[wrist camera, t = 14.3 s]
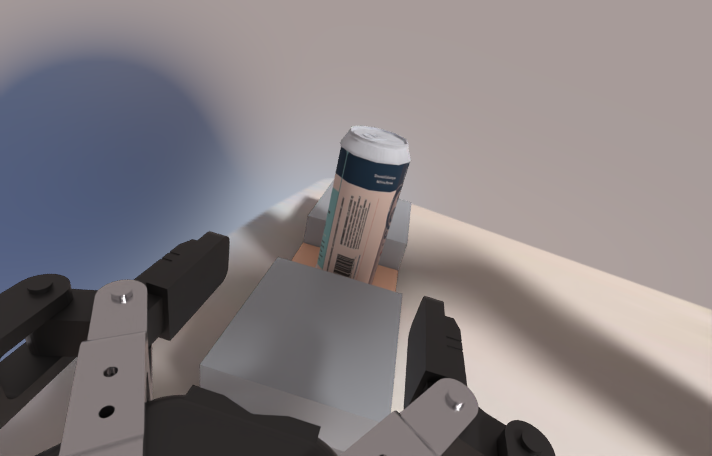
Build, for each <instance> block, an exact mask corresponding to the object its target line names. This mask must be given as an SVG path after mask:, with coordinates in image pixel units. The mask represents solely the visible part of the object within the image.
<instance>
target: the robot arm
mask: <svg viewBox="0 0 712 456" xmlns="http://www.w3.org/2000/svg"><path fill="white" fill-rule="evenodd" d="M228 261H229V237H227V236H224V235H221V234H217V233H214V232H207V233H206V234H205V235H203V237H201V238H200V239H199V240H193V239H192V240H190V241H187V242H184V243H182V244H179V245H178V246H177V247H175V248H174V249H173V250H171V251H170V253H168V254H166V255H165V256H164V257H163V258H162V259H160V260H159V261H157V262H156V263H155V264H153V265H152V266H151V267H150V268H148V269H147V270H146V271H144V272H143V273H142V274H141V275H139V276H138V277H137V278H135V279H134V280H119V281H115V282H111V283H109V284H107V285H105V286H103V287H102V288H100V289H99V290H81V289H71V285H70V281H69V279H68V278H66V277H65V276H62V275H58V274H43V275H37V276H33V277H30V278H27V279H25V280H23V281H21V282H19V283H17V284H16V285H14V286H12V287H11V288H9V289H7V290H6V291H4V292H2V293H1V294H0V358H1V357H2V356H3V355H4V354H5V353H6V352H8V351H9V350H10V349H12V348H13V347H14V346H16V345H17V344H18V343H19V342H21V341H22V340H23V339H26V342H25V343H24V344H23V345H21V346H20V347H19V348H18V349H16V350H15V351H14V352H12V353H11V354H10V355H9V356H7V357H6V358H5V359H4V360H3V361H1V362H0V429H1V428H2V427H3V426H4V425H5V424H6V423H7V422H8V421H9V420H10V419H11V418H12V417H14V416H15V415H16V414H17V413H18V412H19V411H20V410H21V409H22V408H23V407H24V406H25V405H26V404H27V403H28V402H29V401H30V400H31V399H33V398H34V397H35V396H36V395H37V394H38V393H39V392H40V391H41V390H42V389H43V388H44V387H45V386H46V385H47V384H48V383H49V382H50V381H52V380H53V379H54V378H55V377H56V376H57V375H58V374H59V373H60V372H61V371H62V370H63V369H64V368H65V367H66V366H67V365H68V364H69V363H70V362H72V361H73V360H74V359H75V358H76V357H78V359H77V364H76V369H75V375H74V380H73V385H72V390H71V395H70V401H69V406H68V411H67V416H66V422H65V427H64V432H63V437H62V443H60V444H58V445H56V446H54V447H52V448H50V449H48V450H46V451H44V452H42V453H40V454H37V455H35V456H338V455H337V454H336V453H335V451H334V450H333V449H332V448H331V447H330V446H329V445H328V444H326V443H325V442H324V441H323V440H321V439H320V438H318V435H319V432H320V428H321V426H318V425H315V424H312V423H309V422H306V421H302V420H299V419H296V418H293V417H290V416H278V415H261V414H253V413H250V412H248V411H247V410H246V409H244V408H243V407H241V406H240V405H238V404H237V403H235V402H234V401H232V400H231V399H229V398H228V397H226V396H225V395H223V394H219V393H216V392H213V391H210V390H207V389H204V388H201V387H198V386H195V385H192V387H191V388H190V390H189V391H188V393H187V394H186V395H172V396H166V397H161V398H158V399H154V400H153V374H152V343H153V342H154V341H155V340H156V339H157V338H158V337H159V338H163V339H166V340H169V341H170V340H171V339H172V338H173V337H174V336H175V335H176V334H177V333H178V331H179V330H180V329H181V328H182V327H183V326H184V325H185V324H186V322H187V321H188V320H189V319H190V318H191V317H192V316H193V315H194V314H195V312H196V311H197V310H198V309H199V308H200V307H201V306H202V305H203V303H204V302H205V301H206V300H207V299H208V298H209V297H210V296H211V294H212V293H213V292H214V291H215V290H216V289H217V288H218V287H219V285H220V284H221V283H222V282H223V280H224V279H225V277H226V274H227V271H228ZM461 341H462V340H461V332H460V329H459V327H458V325H457V323H456V322H455V320H454V318H450V317H447V316H445V312H444V302H443V301H440V300H436V299H433V298H430V297H426V296H424V297H423V299H422V301H421V303H420V306H419V308H418V311H417V313H416V315H415V318H414V320H413V323H412V325H411V328H410V332H409V337H408V349H407V365H406V381H405V397H404V410H403V411H402V412H400V413H398V412H397V411H394V412H392V413H390V414H389V415H388V416H387V417H385V418H384V419H383V420H382V421H380V422H379V423H378V424H377V425H376V426H374V427H373V428H372V429H371V430H370V431H368V432H367V433H366V434H365V435H364V436H362V437H361V438H360V439H359V440H358V441H356V442H355V443H354V444H353V445H351V446H350V447H349V448H348V449H347V450H345V451H344V452H343V453H342V454H341V455H339V456H555V453H554V450H553V448H552V446H551V444H550V442H549V441H548V439H547V438H546V437H545V436H544V435H543V434H542V433H541V432H540V431H539V430H538V429H537V428H535V427H534V426H532V425H531V424H529V423H527V422H524V421H520V420H514V421H511V422H509V423H508V424H507V426H506V425H504V424H503V423H501V422H499V421H498V420H496V419H495V418H493V417H491V416H490V415H488V414H487V413H485V412H484V411H483V410H482V409H480V408H479V407H478V403H477V400H476V397H475V396H474V394H473V393H472V391H471V390H470V389H469V388H468V387H467V381H466V373H465V365H464V357H463V352H462V350H463V348H462V343H461Z"/></svg>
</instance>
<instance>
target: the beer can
mask: <svg viewBox="0 0 712 456" xmlns="http://www.w3.org/2000/svg"><path fill="white" fill-rule="evenodd" d="M340 144H341V150H340V155H339V159H338V164H337V169H336V174H335V179H334V184H333V189H332V193H331V198H330V203H329V208H328V213H327V218H326V223H325V228H324V232H323V237H322V242H321V247H320V252H319V257H318V262H317V264H316V267H315V268H317V269H320V270H324V271H327V272H330V273H334V274H337V275H341V276H344V277H347V278H351V279H354V280H357V281H361V282H364V283H367V284H371V285H372V282H373V279H374V276H375V272H376V269H377V266H378V263H379V259H380V256H381V253H382V250H383V247H384V243H385V240H386V237H387V234H388V231H389V227H390V224H391V221H392V218H393V214H394V211H395V208H396V205H397V202H398V198H399V195H400V192H401V188H402V186H403V182H404V179H405V176H406V173H407V169H408V166H409V163H410V160H411V158H410V155H409V150H408V142H407V140H406V139H405V138H403V137H401V136H399V135H397V134H396V133H393V132H390V131H386V130H383V129H380V128H375V127H369V126H352V127H351V129H350V130H349V131H348V133H347V134H346V135H345V137H344V138H343V139H342V140H341V142H340Z"/></svg>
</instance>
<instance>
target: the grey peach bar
mask: <svg viewBox="0 0 712 456" xmlns="http://www.w3.org/2000/svg"><path fill="white" fill-rule="evenodd" d="M333 184H334V180H333V182H332V183H331V184H330V186H329V187H328V189H327V190H326V191H325V193H324V194H323V196H322V197H321V198H320V200H319V201H318V202H317V204H316V205H315V207H314V208H313V209H312V211H311V212H310V213H309V215H308V218H307V224H306V230H305V235H304V241H303V243H302V245H301V246H300V248H299V249H298V251H297V253H296V254H295V256H294V257H293V259H292V260H291V261H290V260H287V259H283V258H280V257H278V258H277V259H276V260H275V262H274V263H273V264H272V266H271V267H270V269H269V270H268V271H267V273H266V274H265V276H264V277H263V278H262V280H261V281H260V282H259V284H258V285H257V287H256V288H255V289H254V291H253V292H252V293H251V295H250V296H249V298H248V299H247V300H246V302H245V303H244V304H243V306H242V307H241V309H240V310H239V311H238V313H237V314H236V316H235V317H234V318H233V320H232V321H231V322H230V324H229V325H228V327H227V328H226V329H225V331H224V332H223V333H222V335H221V336H220V338H219V339H218V340H217V342H216V343H215V344H214V346H213V347H212V349H211V350H210V351H209V353H208V354H207V356H206V357H205V358H204V360H203V361H202V362H201V364H200V387H201V388H204V389H207V390H210V391H213V392H216V393H219V394H223V395H225V396H226V397H228V398H229V399H231V400H232V401H234V402H235V403H237V404H238V405H240V406H241V407H243V408H244V409H246V410H247V411H248V412H250V413H253V414H261V415H278V416H290V417H293V418H296V419H299V420H302V421H306V422H309V423H312V424H315V425H318V426H321V428H320V432H319V435H318V438H320V439H321V440H323V441H324V442H325V443H326V444H328V445H329V446H330V447H331V448H332V449H333V450H334V451H335V453H336V454H337V455H338V456H339V455H341V454H342V453H343V452H344V451H345V450H347V449H348V448H349V447H350V446H351V445H353V444H354V443H355V442H356V441H358V440H359V439H360V438H361V437H362V436H364V435H365V434H366V433H367V432H368V431H370V430H371V429H372V428H373V427H374V426H376V425H377V424H378V423H379V422H380V421H382V420H383V419H384V418H385V417H387V416H388V415H389V414H390V413H391V405H392V395H393V385H394V374H395V364H396V354H397V344H398V333H399V323H400V313H401V303H402V294H401V293H398V292H395V291H396V283H397V275H398V269H399V266H400V263H401V260H402V258H403V255H404V252H405V249H406V246H407V241H408V231H409V221H410V211H411V202H408V201H405V200H401V199H398V202H397V205H396V208H395V211H394V214H393V218H392V221H391V224H390V227H389V231H388V234H387V237H386V240H385V243H384V247H383V250H382V253H381V256H380V259H379V263H378V266H377V269H376V272H375V276H374V279H373V282H372V285H371V284H367V283H364V282H361V281H357V280H354V279H351V278H347V277H344V276H341V275H337V274H334V273H330V272H327V271H324V270H320V269H317V268H315V267H316V264H317V262H318V257H319V252H320V247H321V242H322V237H323V232H324V228H325V223H326V218H327V213H328V208H329V203H330V198H331V193H332V189H333Z"/></svg>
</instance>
